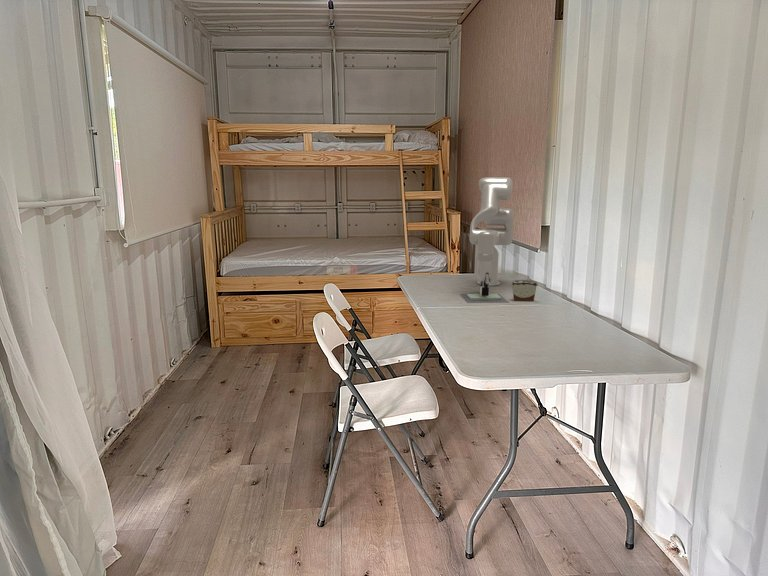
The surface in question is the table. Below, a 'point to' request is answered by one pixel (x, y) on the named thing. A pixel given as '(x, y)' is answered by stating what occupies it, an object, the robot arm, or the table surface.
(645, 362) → the table surface
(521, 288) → the food container
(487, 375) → the table surface
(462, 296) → the mat
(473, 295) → the lid
